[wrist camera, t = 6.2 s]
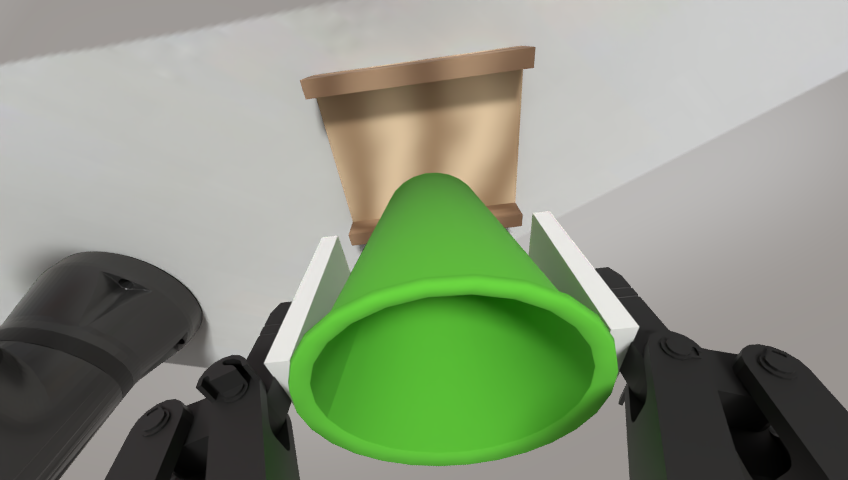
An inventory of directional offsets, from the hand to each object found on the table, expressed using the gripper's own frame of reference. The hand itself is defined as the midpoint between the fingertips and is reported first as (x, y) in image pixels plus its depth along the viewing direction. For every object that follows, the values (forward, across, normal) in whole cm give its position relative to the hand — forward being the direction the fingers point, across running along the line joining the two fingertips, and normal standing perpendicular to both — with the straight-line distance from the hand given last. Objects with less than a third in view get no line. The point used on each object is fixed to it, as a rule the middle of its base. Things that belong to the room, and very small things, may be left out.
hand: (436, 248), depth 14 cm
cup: (+4, 0, 0) cm, 4 cm away
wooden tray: (+15, 0, 0) cm, 15 cm away
